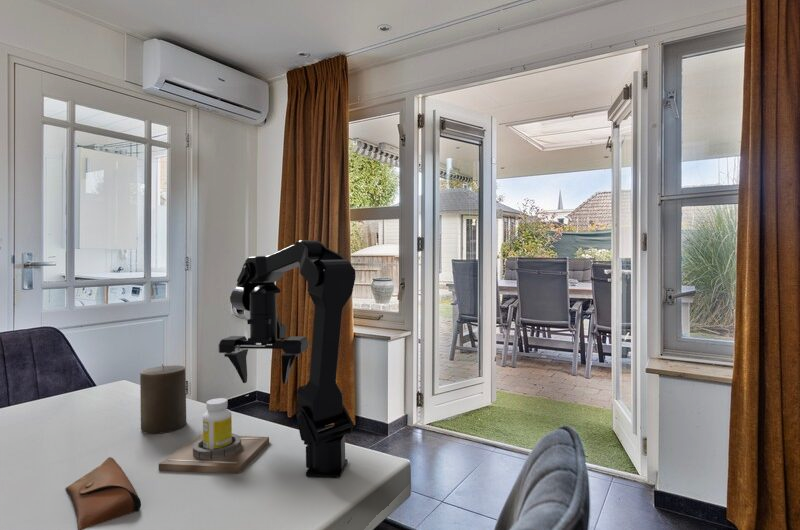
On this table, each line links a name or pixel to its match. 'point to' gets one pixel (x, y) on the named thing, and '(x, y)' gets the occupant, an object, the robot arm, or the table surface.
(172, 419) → the pillar candle
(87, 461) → the table surface
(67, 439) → the table surface
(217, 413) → the supplement bottle
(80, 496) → the sunglasses case
